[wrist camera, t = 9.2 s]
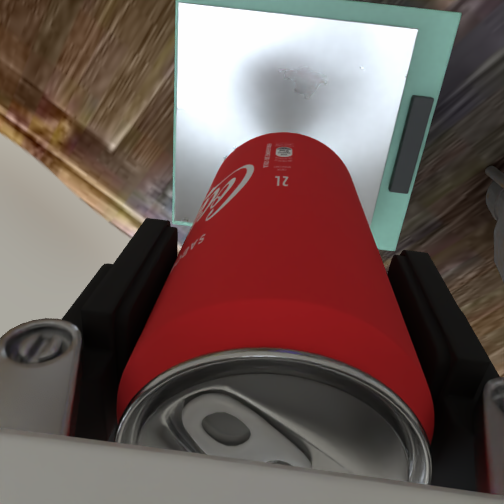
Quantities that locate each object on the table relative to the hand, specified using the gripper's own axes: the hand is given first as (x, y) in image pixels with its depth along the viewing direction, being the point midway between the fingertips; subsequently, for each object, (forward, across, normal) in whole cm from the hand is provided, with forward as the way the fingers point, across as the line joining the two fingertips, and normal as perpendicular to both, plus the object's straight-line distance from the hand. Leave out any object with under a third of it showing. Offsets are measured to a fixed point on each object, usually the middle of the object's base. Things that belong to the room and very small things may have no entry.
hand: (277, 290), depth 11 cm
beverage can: (+7, 0, 0) cm, 7 cm away
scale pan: (+19, 0, 0) cm, 19 cm away
